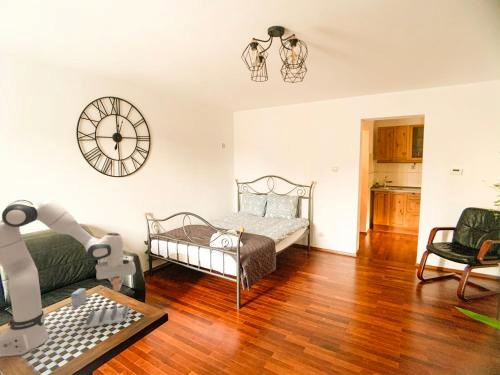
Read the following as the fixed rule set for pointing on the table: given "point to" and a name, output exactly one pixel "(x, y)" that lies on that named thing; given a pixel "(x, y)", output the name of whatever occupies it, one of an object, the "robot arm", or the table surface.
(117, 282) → the block
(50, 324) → the table surface
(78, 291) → the medicine box
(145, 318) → the table surface
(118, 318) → the rack
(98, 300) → the table surface
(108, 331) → the table surface
